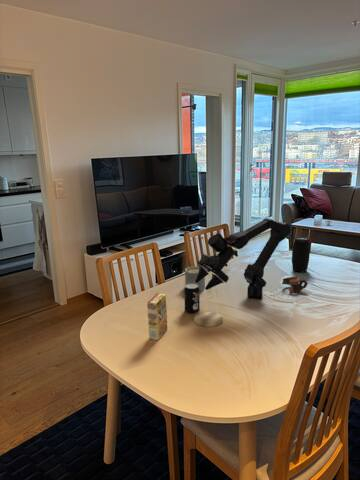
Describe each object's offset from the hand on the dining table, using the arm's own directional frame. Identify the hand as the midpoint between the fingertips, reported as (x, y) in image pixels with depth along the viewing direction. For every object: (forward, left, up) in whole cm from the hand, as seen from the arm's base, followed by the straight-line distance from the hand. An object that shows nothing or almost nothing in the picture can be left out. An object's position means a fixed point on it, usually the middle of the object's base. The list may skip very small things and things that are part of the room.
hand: (200, 285), depth 158 cm
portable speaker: (-42, -63, -11) cm, 76 cm away
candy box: (+10, +26, -11) cm, 30 cm away
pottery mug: (-39, -32, -11) cm, 52 cm away
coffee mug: (+8, -24, -11) cm, 28 cm away
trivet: (-6, +10, -11) cm, 16 cm away
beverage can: (+3, +3, -11) cm, 12 cm away
